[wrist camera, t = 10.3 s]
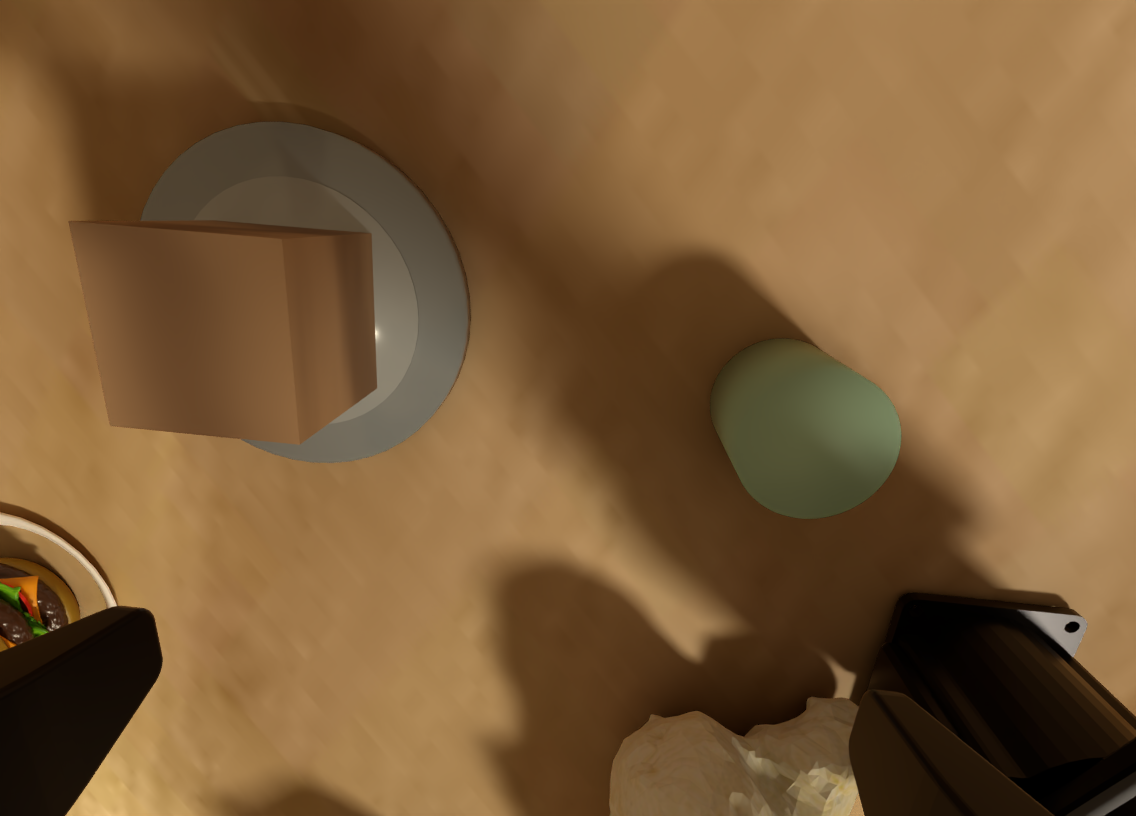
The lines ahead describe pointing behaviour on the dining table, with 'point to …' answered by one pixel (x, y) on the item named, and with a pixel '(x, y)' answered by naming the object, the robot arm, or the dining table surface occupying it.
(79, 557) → the hamburger
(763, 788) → the white lumpy piece
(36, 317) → the dining table surface
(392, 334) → the saucer
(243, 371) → the walnut block
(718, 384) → the green tin
